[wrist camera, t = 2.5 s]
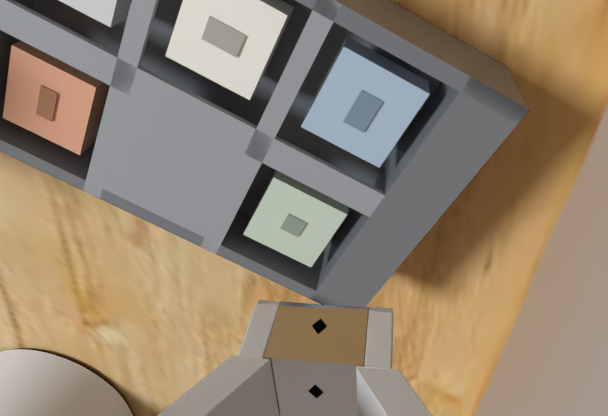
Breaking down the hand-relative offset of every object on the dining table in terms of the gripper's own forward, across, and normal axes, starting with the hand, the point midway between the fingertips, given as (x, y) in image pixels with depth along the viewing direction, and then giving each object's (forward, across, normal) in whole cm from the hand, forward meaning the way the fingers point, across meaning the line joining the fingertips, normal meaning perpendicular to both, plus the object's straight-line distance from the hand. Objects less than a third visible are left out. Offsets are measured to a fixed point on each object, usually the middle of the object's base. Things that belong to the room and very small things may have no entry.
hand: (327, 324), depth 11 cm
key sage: (+14, +4, +6) cm, 15 cm away
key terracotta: (+14, +15, 0) cm, 20 cm away
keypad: (+17, +7, 0) cm, 19 cm away
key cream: (+14, +6, -3) cm, 15 cm away
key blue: (+14, 0, 0) cm, 14 cm away
